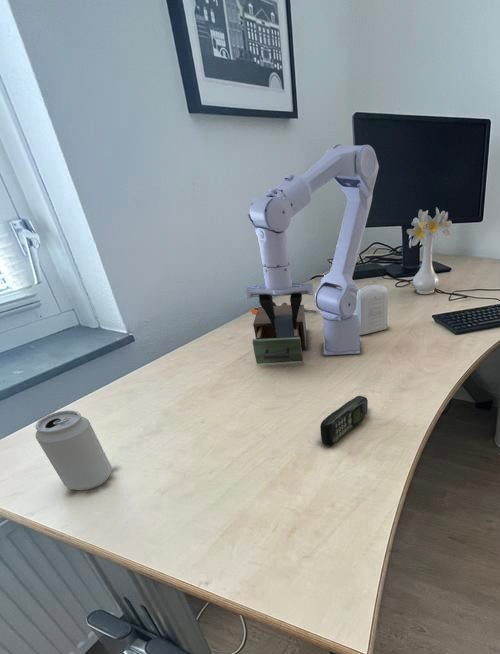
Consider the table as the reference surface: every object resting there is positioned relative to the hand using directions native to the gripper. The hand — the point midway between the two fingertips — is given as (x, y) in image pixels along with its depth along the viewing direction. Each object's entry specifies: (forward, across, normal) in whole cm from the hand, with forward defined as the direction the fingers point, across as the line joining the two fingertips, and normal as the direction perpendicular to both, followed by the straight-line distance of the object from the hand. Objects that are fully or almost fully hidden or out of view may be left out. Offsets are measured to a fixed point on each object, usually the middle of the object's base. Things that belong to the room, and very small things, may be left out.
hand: (285, 328), depth 100 cm
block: (+1, 0, 0) cm, 1 cm away
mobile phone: (+10, +12, -28) cm, 32 cm away
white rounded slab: (+11, +22, +23) cm, 34 cm away
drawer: (+9, -3, +7) cm, 12 cm away
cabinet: (+10, -3, +19) cm, 22 cm away
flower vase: (+11, +46, +57) cm, 74 cm away
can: (+10, -33, -39) cm, 52 cm away
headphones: (+11, -4, +37) cm, 39 cm away
